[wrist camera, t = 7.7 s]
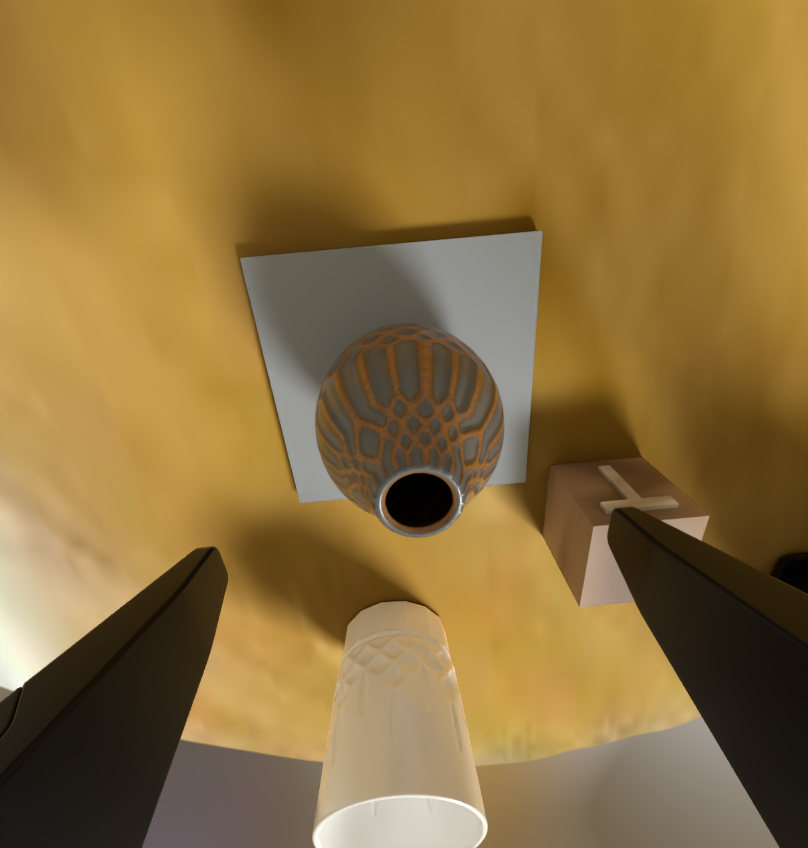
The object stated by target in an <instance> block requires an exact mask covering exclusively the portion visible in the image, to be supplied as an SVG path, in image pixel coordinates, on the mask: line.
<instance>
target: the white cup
mask: <svg viewBox="0 0 808 848" xmlns="http://www.w3.org/2000/svg"><path fill="white" fill-rule="evenodd" d="M487 828H488V827H487V820H486V816H485V811H484V806H483V801H482V796H481V792H480V787H479V782H478V777H477V772H476V767H475V762H474V758H473V753H472V748H471V743H470V738H469V733H468V728H467V723H466V718H465V713H464V709H463V704H462V699H461V695H460V691H459V687H458V684H457V679H456V674H455V669H454V665H453V663H452V661H451V658H450V653H449V648H448V643H447V638H446V633H445V630H444V627H443V625H442V622H441V619H440V617H438V616H437V615H436V614H434V613H433V612H432V611H431V610H429V609H428V608H427V607H425V606H422V605H418V604H415V603H411V602H407V601H393V602H381V603H378V604H376V605H374V606H371V607H369V608H366V609H364V610H362V611H360V612H359V613H358V614H357V616H356V617H355V618H354V619H353V620H352V621H351V622H350V623H349V624H348V627H347V632H346V638H345V644H344V652H343V658H342V662H341V667H340V669H339V672H338V676H337V685H336V689H335V694H334V698H333V705H332V712H331V719H330V725H329V732H328V739H327V745H326V751H325V757H324V764H323V771H322V777H321V784H320V791H319V797H318V804H317V810H316V817H315V823H314V830H313V843H314V846H315V847H316V848H476V847H477V846H478V845H479V844H480V843H481V842H482V840H483V839H484V838H485V836H486V833H487Z"/></svg>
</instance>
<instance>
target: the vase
mask: <svg viewBox="0 0 808 848" xmlns="http://www.w3.org/2000/svg"><path fill="white" fill-rule="evenodd" d="M315 433H316V440H317V445H318V449H319V453H320V456H321V459H322V462H323V464H324V466H325V468H326V471H327V473H328V474H329V476H330V478H331V479H332V481H333V482H334V484H335V485H336V487H337V488H338V489H339V490H340V491H341V492H342V494H343V495H344V496H346V497H347V498H348V499H349V500H350V501H351V502H352V503H354V504H355V505H356V506H358V507H359V508H361V509H362V510H364V511H366V512H368V513H370V514H372V515H374V516H376V517H377V518H378V519H379V520H380V522H381V523H382V524H383V525H384V526H385V527H387V528H388V529H389V530H391V531H393V532H395V533H397V534H399V535H402V536H406V537H415V538H419V537H428V536H432V535H435V534H438V533H440V532H442V531H444V530H446V529H447V528H448V527H450V526H451V525H452V524H453V523H454V522H455V521H456V520H457V519H458V517H459V516H460V514H461V512H462V510H463V508H464V506H465V505H466V504H467V503H469V502H470V501H471V500H472V499H473V498H474V497H475V496H476V495H477V494H478V493H479V492H480V491H481V490H482V489H483V488H484V486H485V485H486V484H487V482H488V481H489V479H490V477H491V476H492V474H493V472H494V470H495V468H496V466H497V463H498V460H499V457H500V454H501V451H502V445H503V439H504V411H503V405H502V400H501V396H500V393H499V390H498V387H497V384H496V382H495V380H494V378H493V376H492V374H491V373H490V371H489V369H488V368H487V366H486V365H485V363H484V362H483V361H482V360H481V358H480V357H479V356H478V355H477V354H476V353H475V352H474V351H473V350H472V349H471V348H470V347H469V346H468V345H466V344H465V343H464V342H463V341H461V340H460V339H458V338H457V337H455V336H454V335H452V334H450V333H448V332H446V331H444V330H441V329H439V328H436V327H432V326H428V325H423V324H413V323H406V324H394V325H389V326H385V327H381V328H378V329H376V330H373V331H371V332H369V333H367V334H365V335H363V336H361V337H360V338H358V339H357V340H355V341H354V342H353V343H351V344H350V345H349V346H348V347H347V348H346V349H345V350H344V351H343V352H342V353H341V354H340V355H339V357H338V358H337V359H336V360H335V362H334V363H333V365H332V366H331V368H330V369H329V371H328V373H327V375H326V377H325V379H324V381H323V383H322V386H321V389H320V392H319V395H318V399H317V403H316V410H315Z"/></svg>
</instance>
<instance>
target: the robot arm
mask: <svg viewBox="0 0 808 848" xmlns="http://www.w3.org/2000/svg"><path fill="white" fill-rule="evenodd" d="M607 541H608V545H609V548H610V550H611V552H612V554H613V556H614V558H615V561H616V563H617V565H618V567H619V569H620V571H621V573H622V576H623V578H624V580H625V582H626V584H627V586H628V589H629V591H630V593H631V595H632V597H633V599H634V601H635V603H636V605H637V607H638V609H639V611H640V613H641V615H642V616H643V618H644V620H645V622H646V623H647V625H648V627H649V628H650V630H651V632H652V633H653V635H654V637H655V638H656V640H657V642H658V643H659V645H660V647H661V649H662V650H663V652H664V654H665V655H666V657H667V659H668V660H669V662H670V664H671V665H672V667H673V669H674V670H675V672H676V674H677V676H678V677H679V679H680V681H681V682H682V684H683V686H684V687H685V689H686V691H687V692H688V694H689V696H690V697H691V699H692V701H693V702H694V704H695V706H696V708H697V709H698V711H699V713H700V714H701V716H702V718H703V719H704V721H705V723H706V724H707V726H708V728H709V729H710V731H711V733H712V734H713V736H714V738H715V740H716V741H717V743H718V745H719V746H720V748H721V750H722V751H723V753H724V755H725V756H726V758H727V760H728V761H729V763H730V765H731V766H732V768H733V770H734V772H735V773H736V775H737V777H738V778H739V780H740V782H741V783H742V785H743V787H744V788H745V790H746V792H747V793H748V795H749V797H750V799H751V800H752V802H753V804H754V805H755V807H756V809H757V810H758V812H759V814H760V815H761V817H762V819H763V821H764V822H765V824H766V826H767V827H768V829H769V830H770V832H771V834H772V836H773V837H774V839H775V841H776V842H777V844H778V846H779V847H780V848H808V554H799V555H789V556H785V557H783V558H782V559H781V560H780V561H779V563H778V565H777V567H776V569H775V571H774V574H773V576H770V575H768V574H766V573H764V572H762V571H760V570H758V569H756V568H754V567H752V566H750V565H748V564H746V563H744V562H742V561H740V560H738V559H737V558H735V557H733V556H731V555H729V554H727V553H725V552H723V551H721V550H719V549H717V548H715V547H713V546H711V545H709V544H707V543H705V542H703V541H701V540H699V539H697V538H695V537H693V536H691V535H689V534H687V533H685V532H683V531H681V530H679V529H677V528H675V527H673V526H671V525H669V524H667V523H665V522H663V521H661V520H659V519H657V518H655V517H653V516H651V515H649V514H647V513H645V512H643V511H641V510H639V509H637V508H635V507H632V506H627V507H617V508H614V509H613V511H612V513H611V517H610V522H609V527H608V533H607ZM227 582H228V574H227V570H226V568H225V565H224V562H223V560H222V557H221V555H220V552H219V550H218V549H217V548H216V547H214V546H211V547H200V548H197V549H195V550H193V551H192V552H191V553H190V554H188V555H187V556H186V557H184V558H183V559H182V560H181V561H179V562H178V563H177V564H176V565H174V566H173V567H172V568H170V569H169V570H168V571H167V572H165V573H164V574H163V575H162V576H160V577H159V578H158V579H156V580H155V581H154V582H153V583H151V584H150V585H149V586H148V587H146V588H145V589H144V590H142V591H141V592H140V593H139V594H137V595H136V596H135V597H134V598H132V599H131V600H130V601H128V602H127V603H126V604H125V605H123V606H122V607H121V608H120V609H118V610H117V611H116V612H114V613H113V614H112V615H111V616H109V617H108V618H107V619H105V620H104V621H103V622H102V623H100V624H99V625H98V626H97V627H95V628H94V629H93V630H91V631H90V632H89V633H88V634H86V635H85V636H84V637H83V638H81V639H80V640H79V641H77V642H76V643H75V644H74V645H72V646H71V647H70V648H69V649H67V650H66V651H65V652H63V653H62V654H61V655H60V656H58V657H57V658H56V659H55V660H53V661H52V662H51V663H49V664H48V665H47V666H46V667H44V668H43V669H42V670H40V671H39V672H38V673H37V674H35V675H34V676H33V677H32V678H30V679H29V680H28V681H26V682H25V683H24V685H23V687H19V688H17V689H16V690H15V691H14V692H12V693H11V694H10V695H9V696H7V697H6V698H5V699H4V700H2V701H1V702H0V848H142V847H143V844H144V841H145V838H146V835H147V832H148V829H149V827H150V824H151V821H152V818H153V815H154V812H155V809H156V807H157V804H158V801H159V798H160V795H161V792H162V790H163V787H164V784H165V781H166V778H167V775H168V772H169V770H170V766H171V764H172V761H173V758H174V755H175V752H176V750H177V747H178V744H179V741H180V738H181V735H182V732H183V730H184V727H185V724H186V721H187V718H188V715H189V712H190V710H191V707H192V704H193V701H194V698H195V695H196V693H197V690H198V687H199V684H200V681H201V678H202V675H203V673H204V670H205V667H206V664H207V661H208V658H209V655H210V652H211V648H212V645H213V641H214V637H215V633H216V629H217V624H218V620H219V616H220V612H221V608H222V603H223V599H224V595H225V591H226V587H227Z"/></svg>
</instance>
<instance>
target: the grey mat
mask: <svg viewBox="0 0 808 848" xmlns="http://www.w3.org/2000/svg"><path fill="white" fill-rule="evenodd" d="M542 233H543V231H530V232H519V233H507V234H496V235H485V236H474V237H463V238H452V239H441V240H430V241H419V242H408V243H397V244H386V245H375V246H364V247H353V248H342V249H331V250H320V251H309V252H297V253H286V254H275V255H264V256H253V257H243V258H240V262H241V266H242V270H243V274H244V278H245V282H246V286H247V290H248V294H249V298H250V302H251V306H252V310H253V314H254V318H255V322H256V327H257V331H258V335H259V339H260V343H261V347H262V351H263V355H264V359H265V363H266V367H267V371H268V375H269V379H270V383H271V387H272V391H273V395H274V400H275V404H276V408H277V412H278V416H279V420H280V424H281V428H282V432H283V436H284V440H285V444H286V448H287V452H288V456H289V460H290V464H291V469H292V473H293V477H294V481H295V485H296V489H297V493H298V497H299V501H300V503H307V502H318V501H329V500H339V499H348V498H347V497H346V496H344V495H343V494H342V492H341V491H340V490H339V489H338V488H337V487H336V485H335V484H334V482H333V481H332V479H331V478H330V476H329V474H328V473H327V471H326V468H325V466H324V464H323V462H322V459H321V456H320V453H319V449H318V445H317V440H316V433H315V410H316V403H317V399H318V395H319V392H320V389H321V386H322V383H323V381H324V379H325V377H326V375H327V373H328V371H329V369H330V368H331V366H332V365H333V363H334V362H335V360H336V359H337V358H338V357H339V355H340V354H341V353H342V352H343V351H344V350H345V349H346V348H347V347H348V346H349V345H350V344H351V343H353V342H354V341H355V340H357V339H358V338H360V337H361V336H363V335H365V334H367V333H369V332H371V331H373V330H376V329H378V328H381V327H385V326H389V325H394V324H406V323H413V324H423V325H428V326H432V327H436V328H439V329H441V330H444V331H446V332H448V333H450V334H452V335H454V336H455V337H457V338H458V339H460V340H461V341H463V342H464V343H465V344H466V345H468V346H469V347H470V348H471V349H472V350H473V351H474V352H475V353H476V354H477V355H478V356H479V357H480V358H481V360H482V361H483V362H484V363H485V365H486V366H487V368H488V369H489V371H490V373H491V374H492V376H493V378H494V380H495V382H496V384H497V387H498V390H499V393H500V396H501V400H502V405H503V411H504V439H503V445H502V451H501V454H500V457H499V460H498V463H497V466H496V468H495V470H494V472H493V474H492V476H491V477H490V479H489V481H488V482H487V484H486V485H485V486H490V485H501V484H512V483H523V482H526V468H527V453H528V439H529V424H530V409H531V395H532V380H533V365H534V351H535V336H536V321H537V307H538V292H539V277H540V263H541V248H542Z"/></svg>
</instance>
